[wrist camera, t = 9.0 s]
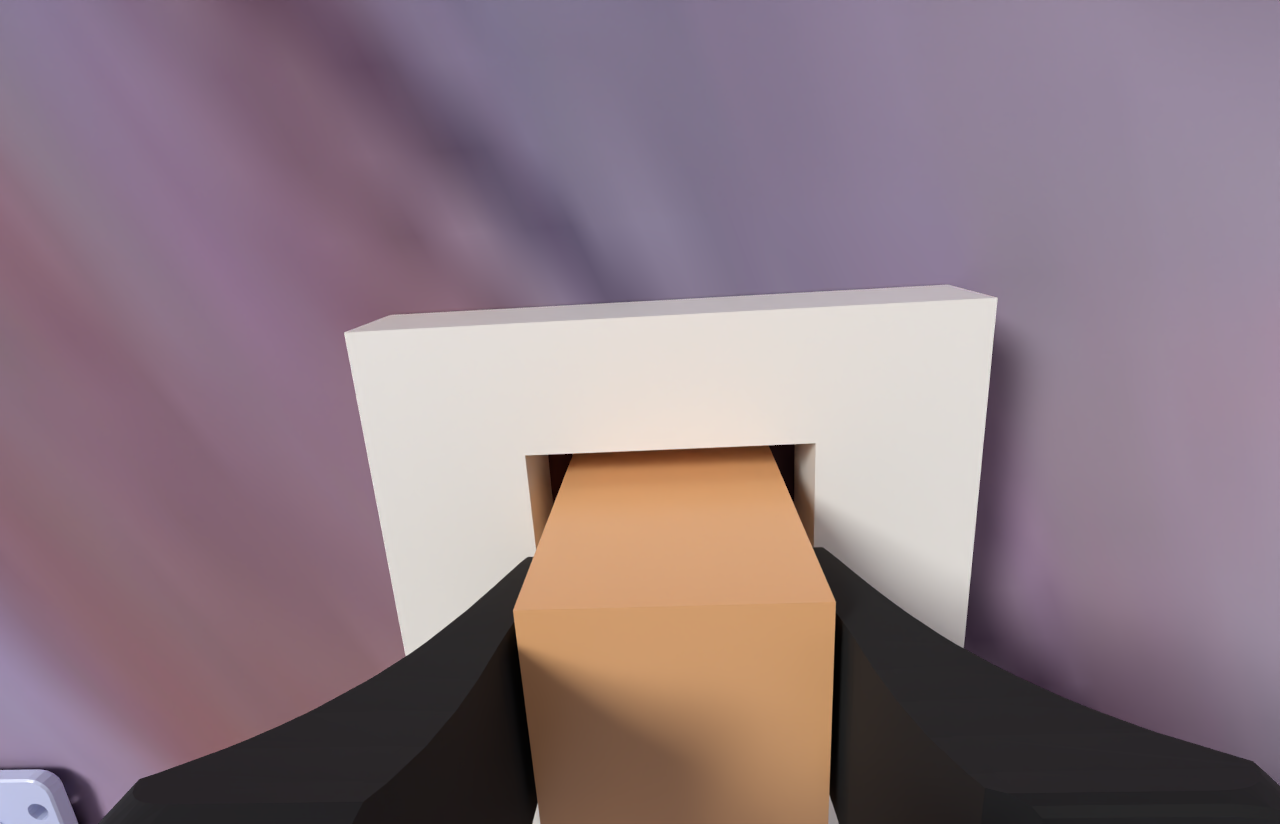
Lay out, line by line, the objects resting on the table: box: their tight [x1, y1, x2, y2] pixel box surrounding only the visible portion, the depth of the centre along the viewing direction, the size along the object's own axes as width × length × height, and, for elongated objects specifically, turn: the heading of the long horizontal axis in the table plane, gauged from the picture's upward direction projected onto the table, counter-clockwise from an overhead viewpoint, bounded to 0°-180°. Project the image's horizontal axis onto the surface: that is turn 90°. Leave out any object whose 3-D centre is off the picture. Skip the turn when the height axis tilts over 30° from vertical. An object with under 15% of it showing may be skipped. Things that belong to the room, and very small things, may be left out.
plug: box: [513, 445, 836, 824], centre depth 12 cm, size 4×4×6 cm
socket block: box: [344, 285, 997, 824], centre depth 13 cm, size 17×11×6 cm, turn 3°
